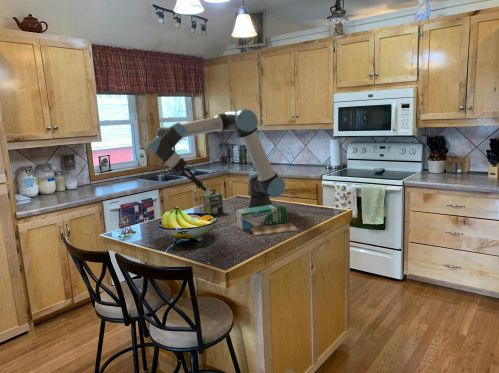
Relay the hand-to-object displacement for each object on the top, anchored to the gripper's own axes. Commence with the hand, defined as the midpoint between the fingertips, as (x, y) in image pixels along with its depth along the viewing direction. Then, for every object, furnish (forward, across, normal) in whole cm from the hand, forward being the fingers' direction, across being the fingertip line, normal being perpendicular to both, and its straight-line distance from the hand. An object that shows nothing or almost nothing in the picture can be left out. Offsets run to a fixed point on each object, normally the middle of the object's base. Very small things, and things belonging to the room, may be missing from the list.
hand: (210, 194), depth 200 cm
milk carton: (+21, +2, 0) cm, 21 cm away
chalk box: (+20, -39, -7) cm, 44 cm away
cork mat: (+34, +13, +8) cm, 37 cm away
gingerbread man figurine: (-14, -17, -46) cm, 51 cm away
